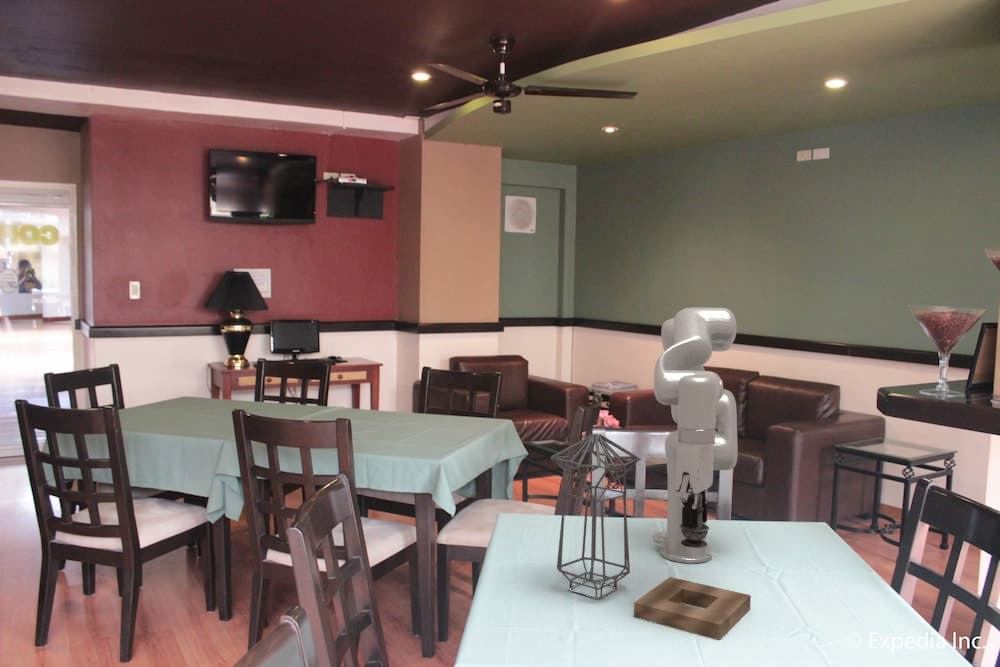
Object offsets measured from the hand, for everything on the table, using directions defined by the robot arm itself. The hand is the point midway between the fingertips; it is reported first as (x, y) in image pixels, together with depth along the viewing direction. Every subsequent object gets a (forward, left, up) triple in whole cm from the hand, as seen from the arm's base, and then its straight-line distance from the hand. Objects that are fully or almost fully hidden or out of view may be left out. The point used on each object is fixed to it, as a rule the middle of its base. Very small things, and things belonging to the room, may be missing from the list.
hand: (694, 523), depth 163 cm
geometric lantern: (-23, 0, -19) cm, 30 cm away
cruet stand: (0, 0, -19) cm, 19 cm away
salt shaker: (0, 0, -5) cm, 5 cm away
